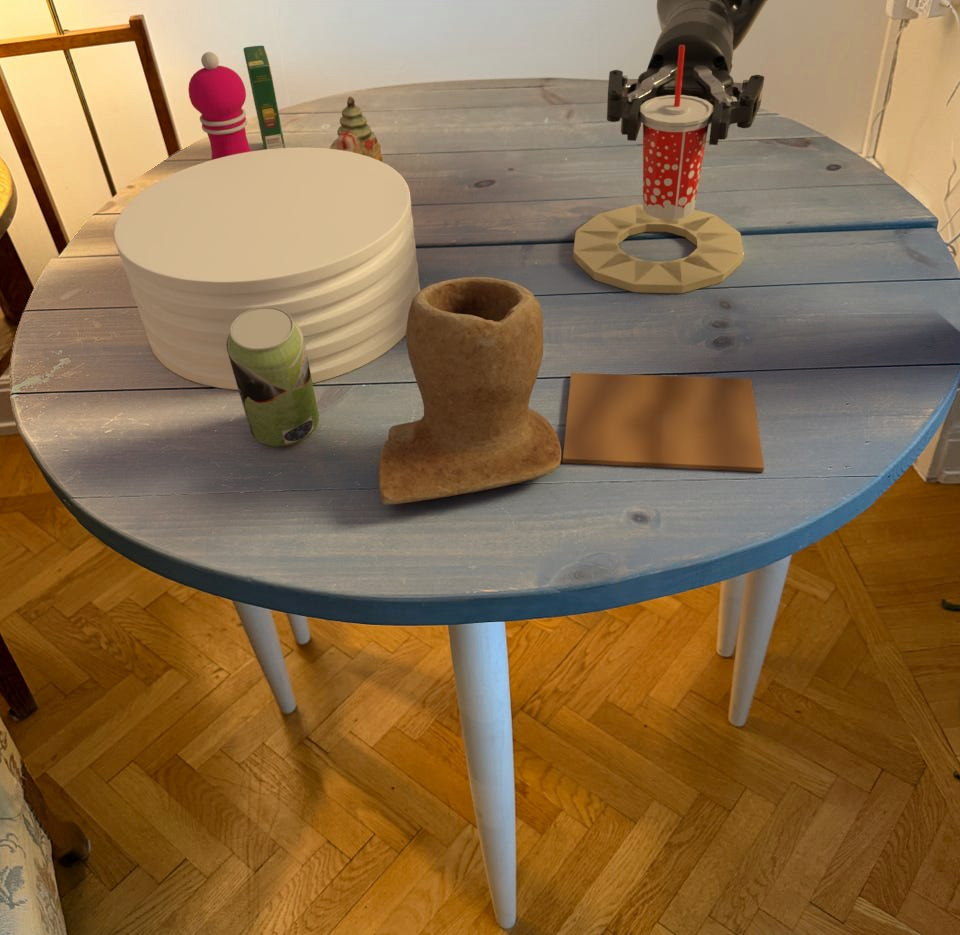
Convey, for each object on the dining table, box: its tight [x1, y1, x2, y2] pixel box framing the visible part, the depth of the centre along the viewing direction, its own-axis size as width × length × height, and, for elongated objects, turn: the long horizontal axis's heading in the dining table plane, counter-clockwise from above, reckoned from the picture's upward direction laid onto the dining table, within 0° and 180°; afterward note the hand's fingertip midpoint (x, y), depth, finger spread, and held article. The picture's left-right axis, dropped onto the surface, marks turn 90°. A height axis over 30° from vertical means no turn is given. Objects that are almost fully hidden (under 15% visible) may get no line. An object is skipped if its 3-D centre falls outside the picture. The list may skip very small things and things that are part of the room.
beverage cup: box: [640, 45, 714, 220], centre depth 79 cm, size 6×6×14 cm
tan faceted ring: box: [572, 204, 745, 294], centre depth 101 cm, size 18×18×1 cm
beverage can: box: [227, 307, 320, 447], centre depth 77 cm, size 6×7×12 cm
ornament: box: [329, 95, 384, 163], centre depth 117 cm, size 8×6×10 cm
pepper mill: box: [188, 51, 252, 160], centre depth 104 cm, size 7×7×20 cm
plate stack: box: [113, 146, 421, 391], centre depth 93 cm, size 28×28×12 cm
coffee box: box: [243, 45, 286, 150], centre depth 123 cm, size 8×3×13 cm, turn 15°
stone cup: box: [378, 276, 562, 505], centre depth 72 cm, size 15×12×15 cm
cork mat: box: [562, 372, 765, 473], centre depth 79 cm, size 16×12×1 cm
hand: (673, 131), depth 77 cm, fingers closed on beverage cup, 6 cm apart
